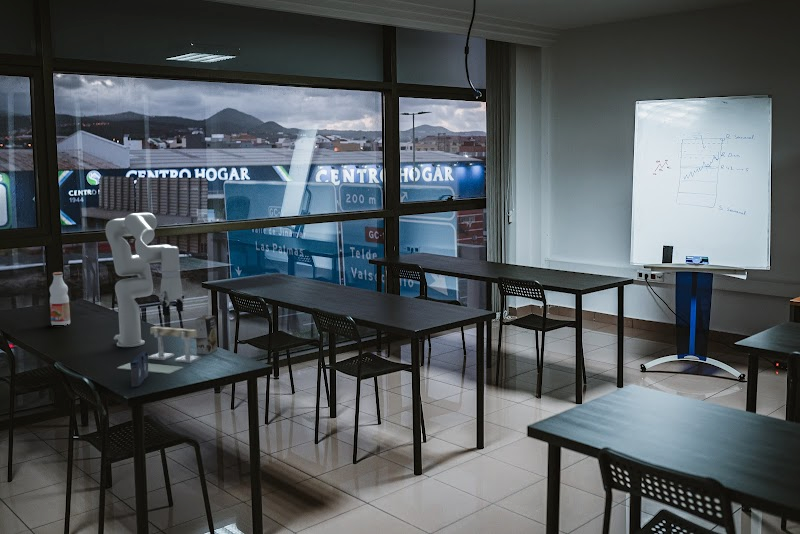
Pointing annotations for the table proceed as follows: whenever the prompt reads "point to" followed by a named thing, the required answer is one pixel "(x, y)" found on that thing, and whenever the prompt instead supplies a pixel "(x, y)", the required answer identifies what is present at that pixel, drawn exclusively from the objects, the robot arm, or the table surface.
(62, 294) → the fruit juice
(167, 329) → the birch rail
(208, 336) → the coffee box
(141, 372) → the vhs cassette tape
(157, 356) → the standard left
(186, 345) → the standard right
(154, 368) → the sage mat
